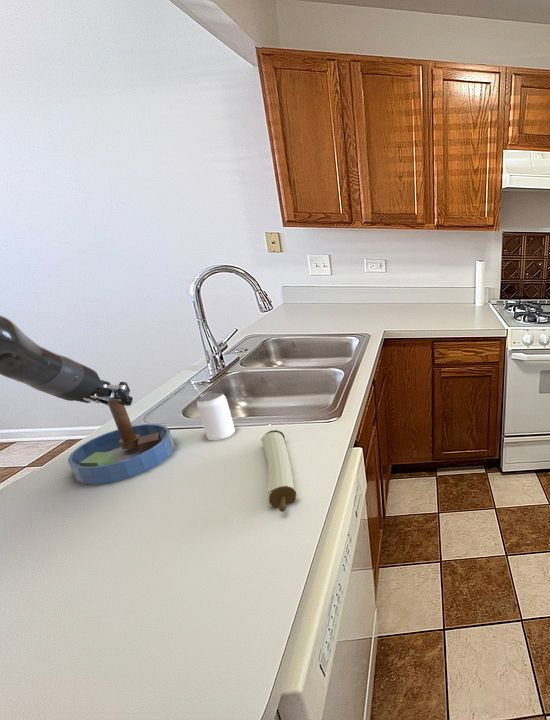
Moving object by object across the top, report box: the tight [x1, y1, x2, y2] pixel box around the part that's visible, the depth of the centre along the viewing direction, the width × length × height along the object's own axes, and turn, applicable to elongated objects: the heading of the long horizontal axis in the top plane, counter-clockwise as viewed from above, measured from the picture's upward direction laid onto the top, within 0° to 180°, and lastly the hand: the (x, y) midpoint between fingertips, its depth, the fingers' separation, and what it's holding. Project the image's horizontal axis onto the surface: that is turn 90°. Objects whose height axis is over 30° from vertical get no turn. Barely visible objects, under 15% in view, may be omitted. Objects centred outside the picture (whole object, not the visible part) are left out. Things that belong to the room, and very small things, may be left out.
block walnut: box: [137, 432, 162, 454], centre depth 97 cm, size 4×4×4 cm
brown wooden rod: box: [107, 394, 140, 451], centre depth 95 cm, size 4×4×15 cm
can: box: [196, 390, 236, 441], centre depth 104 cm, size 6×6×12 cm
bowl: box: [67, 423, 175, 486], centre depth 94 cm, size 18×18×5 cm
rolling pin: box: [260, 429, 297, 513], centre depth 90 cm, size 32×6×5 cm, turn 29°
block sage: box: [80, 451, 118, 467], centre depth 90 cm, size 4×4×4 cm
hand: (122, 402), depth 96 cm, fingers closed on brown wooden rod, 2 cm apart
